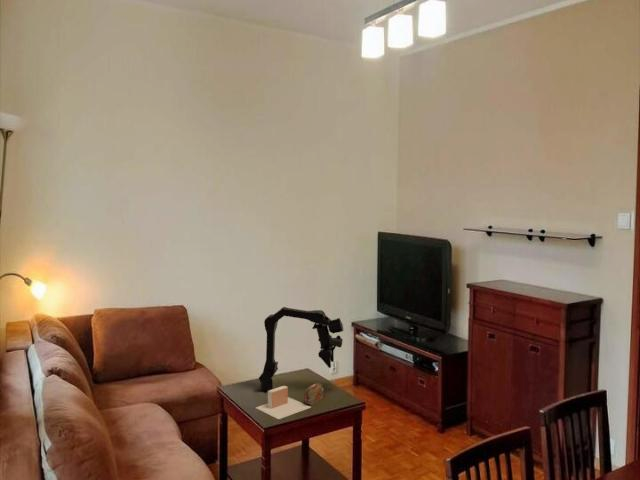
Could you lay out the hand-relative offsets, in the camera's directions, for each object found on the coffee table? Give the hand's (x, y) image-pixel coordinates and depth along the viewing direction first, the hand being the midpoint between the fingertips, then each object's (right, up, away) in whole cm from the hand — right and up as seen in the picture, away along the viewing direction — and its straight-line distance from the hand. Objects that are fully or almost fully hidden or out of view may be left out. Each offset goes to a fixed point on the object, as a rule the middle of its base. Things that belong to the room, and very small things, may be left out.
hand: (331, 364), depth 271 cm
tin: (-9, -17, -8) cm, 20 cm away
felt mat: (-23, -17, -16) cm, 33 cm away
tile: (-26, -16, -14) cm, 34 cm away
